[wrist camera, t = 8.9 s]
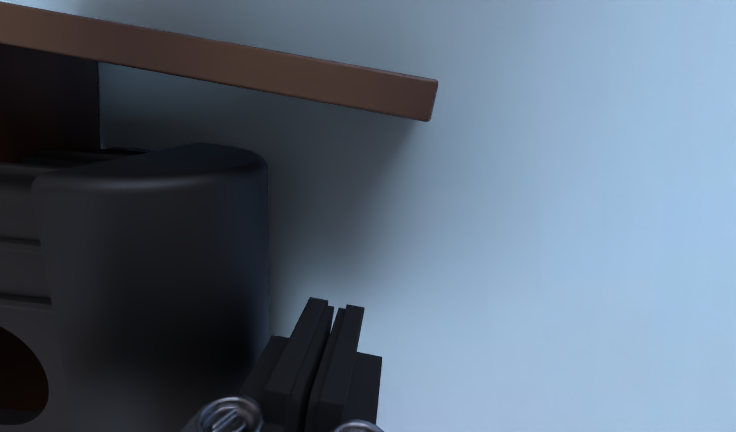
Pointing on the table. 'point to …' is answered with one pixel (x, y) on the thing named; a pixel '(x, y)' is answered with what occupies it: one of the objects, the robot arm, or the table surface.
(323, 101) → the wooden u-shaped shelf
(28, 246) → the end cap
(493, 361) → the table surface
